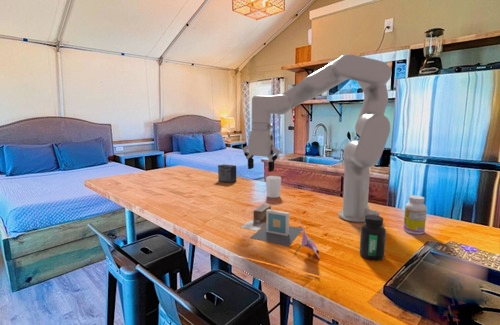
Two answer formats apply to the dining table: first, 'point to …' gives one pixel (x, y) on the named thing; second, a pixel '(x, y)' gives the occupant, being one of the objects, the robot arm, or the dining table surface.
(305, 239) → the lily
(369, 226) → the supplement bottle
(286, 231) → the tile
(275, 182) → the white cup
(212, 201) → the dining table surface
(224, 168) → the small box
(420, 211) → the supplement bottle
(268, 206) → the brown and grey block
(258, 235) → the mat
